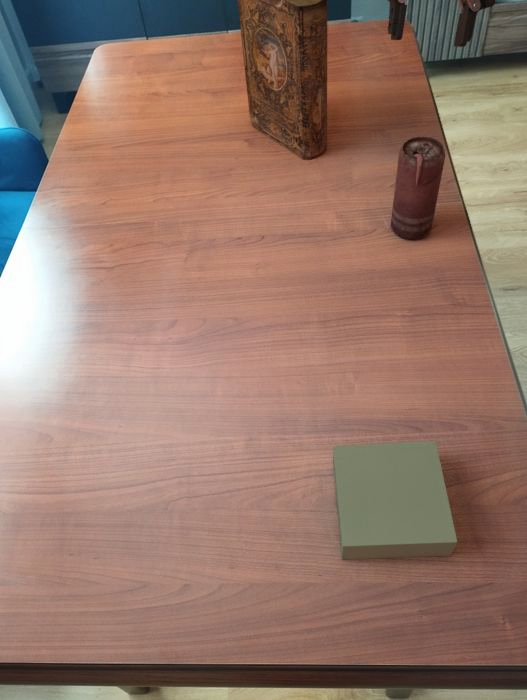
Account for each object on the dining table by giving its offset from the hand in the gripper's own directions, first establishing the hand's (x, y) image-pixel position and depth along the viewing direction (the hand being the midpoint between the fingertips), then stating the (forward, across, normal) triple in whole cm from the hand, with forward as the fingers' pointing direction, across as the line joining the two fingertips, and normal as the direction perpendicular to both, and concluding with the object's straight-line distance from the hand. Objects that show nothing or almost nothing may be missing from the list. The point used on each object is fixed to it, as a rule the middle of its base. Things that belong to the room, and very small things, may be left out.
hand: (428, 43), depth 73 cm
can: (+25, +5, +6) cm, 26 cm away
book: (+15, -10, +33) cm, 37 cm away
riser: (+46, -9, -32) cm, 57 cm away
